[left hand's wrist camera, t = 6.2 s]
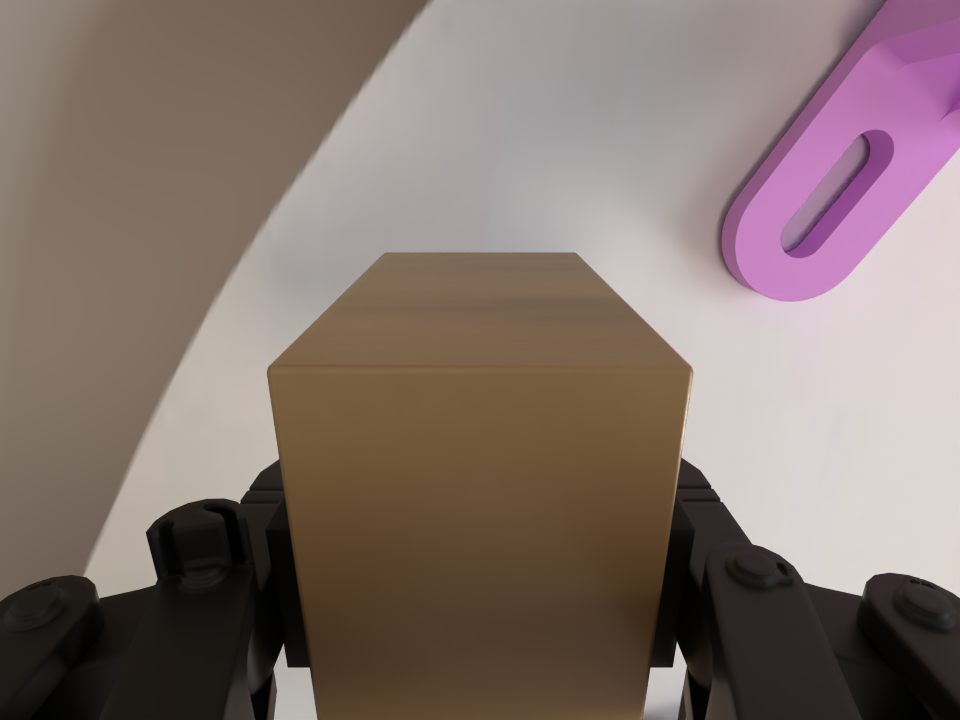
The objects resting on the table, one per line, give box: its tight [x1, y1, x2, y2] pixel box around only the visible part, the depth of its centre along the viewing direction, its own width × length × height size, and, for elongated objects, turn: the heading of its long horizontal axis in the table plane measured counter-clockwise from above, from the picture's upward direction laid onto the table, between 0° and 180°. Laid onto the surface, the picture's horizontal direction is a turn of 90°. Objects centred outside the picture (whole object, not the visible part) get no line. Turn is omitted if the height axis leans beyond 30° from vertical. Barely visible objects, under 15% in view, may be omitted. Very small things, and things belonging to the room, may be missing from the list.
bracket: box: [721, 0, 960, 301], centre depth 19 cm, size 13×6×7 cm, turn 148°
